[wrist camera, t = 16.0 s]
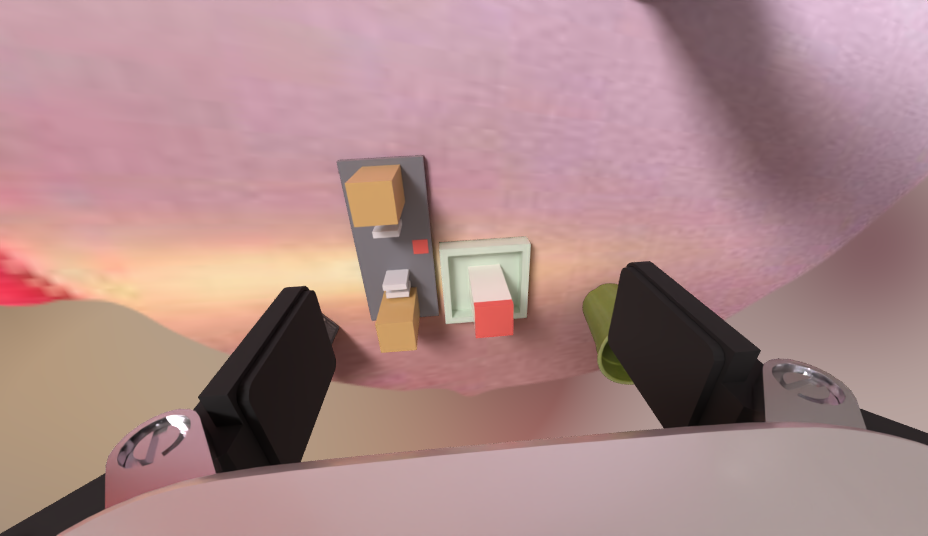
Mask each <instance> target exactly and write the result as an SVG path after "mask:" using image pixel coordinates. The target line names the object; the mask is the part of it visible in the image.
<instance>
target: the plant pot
mask: <svg viewBox="0 0 928 536" xmlns="http://www.w3.org/2000/svg"><path fill="white" fill-rule="evenodd" d="M617 289H618V285H617V284H603V285H600V286H599V287H598V288H596V289H595V290H593V291H591V292H590V293H589V294H588V295H587V296H586V298H585V299H584V302H583V313H584V316H585V318H586V321H587V323H588V326H589V328H590V331H591V334H592V336H593V339H594V341H595V344H596V350H597V353H598V356H597V361H598V366H599V369H600V371H601V372H602V373H603V375H604V376H605V377H607V378H608V379H610V380H611V381H613V382H616V383H620V384H628V385H629V384H630V385H633V384H634V383H633V381H632V380H631V378H630V377H629V375H628V374H627V372H626V371H625V369H624V368H623V366H622V365H621V363H620V362H619V360H618V359H617V357H616V356H615V354H614V353H613V351H612V350H611V348H610V346H609V343H608V333H609V328H610V323H611V318H612V313H613V308H614V304H615V299H616V294H617Z"/></svg>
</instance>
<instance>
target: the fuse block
mask: <svg viewBox="0 0 928 536" xmlns="http://www.w3.org/2000/svg"><path fill="white" fill-rule="evenodd" d="M337 165H338V170H339V174H340V179H341V183H342V188H343V192H344V197H345V202H346V206H347V211H348V215H349V220H350V224H351V229H352V233H353V238H354V242H355V247H356V251H357V256H358V260H359V265H360V270H361V274H362V279H363V283H364V288H365V292H366V297H367V301H368V306H369V310H370V315H371V319H372V321H375V320H376V323H375V326H376V331H377V336H378V340H379V345H380V349H381V353H384V352H397V351H409V350H417V341H418V329H419V318H420V317H427V316H439V308H438V298H437V288H436V278H435V268H434V258H433V248H432V238H431V228H430V218H429V208H428V198H427V188H426V178H425V168H424V158H423V155H415V156H398V157H381V158H364V159H347V160H338V161H337Z"/></svg>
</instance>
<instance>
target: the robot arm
mask: <svg viewBox="0 0 928 536" xmlns="http://www.w3.org/2000/svg"><path fill="white" fill-rule="evenodd" d="M608 343H609V346H610V348H611V350H612V351H613V353H614V354H615V356H616V357H617V359H618V360H619V362H620V363H621V365H622V366H623V368H624V369H625V371H626V372H627V374H628V375H629V377H630V378H631V380H632V381H633V383H634V384H635V386H636V387H637V389H638V390H639V392H640V393H641V395H642V396H643V398H644V399H645V401H646V402H647V404H648V405H649V407H650V408H651V410H652V411H653V413H654V414H655V416H656V417H657V419H658V420H659V421H660V423H661V425H662V426H663V428H664V429H653V430H642V431H630V432H618V433H606V434H594V435H583V436H571V437H560V438H549V439H538V440H526V441H515V442H505V443H493V444H482V445H471V446H461V447H450V448H439V449H429V450H418V451H408V452H398V453H388V454H378V455H367V456H356V457H346V458H335V459H326V460H317V461H308V462H301V460H302V457H303V454H304V451H305V449H306V446H307V444H308V441H309V438H310V436H311V433H312V430H313V427H314V425H315V422H316V420H317V417H318V414H319V411H320V409H321V406H322V403H323V401H324V398H325V395H326V393H327V390H328V387H329V385H330V382H331V379H332V377H333V374H334V371H335V368H336V359H335V355H334V352H333V348H332V345H331V342H330V339H329V335H328V332H327V329H326V325H325V322H324V319H323V316H322V312H321V309H320V306H319V303H318V299H317V296H316V293H315V292H314V291H313V290H309V289H308V287H306V286H299V287H286V288H284V289H283V290H282V291H281V292H280V294H279V295H278V296H277V298H276V299H275V300H274V301H273V303H272V304H271V305H270V306H269V308H268V309H267V310H266V311H265V313H264V314H263V315H262V317H261V318H260V319H259V320H258V322H257V323H256V324H255V325H254V327H253V328H252V329H251V331H250V332H249V333H248V334H247V336H246V337H245V338H244V339H243V341H242V342H241V343H240V344H239V346H238V347H237V348H236V350H235V351H234V352H233V353H232V355H231V356H230V357H229V358H228V360H227V361H226V362H225V364H224V365H223V366H222V367H221V369H220V370H219V371H218V372H217V374H216V375H215V376H214V377H213V379H212V380H211V381H210V383H209V384H208V385H207V386H206V388H205V389H204V390H203V391H202V393H201V394H200V395H199V396H198V398H199V400H200V402H199V403H198V405H197V406H196V407H195V408H194V410H190V409H177V410H172V411H169V412H165V413H163V414H160V415H158V416H155V417H153V418H151V419H149V420H147V421H146V422H144V423H142V424H140V425H139V426H137V427H136V428H135V429H133V430H132V431H131V432H129V433H128V434H127V435H126V436H125V437H124V438H123V439H122V440H121V441H120V442H119V443H118V444H117V445H116V446H115V447H114V449H113V450H112V452H111V453H110V455H109V456H108V459H107V463H106V473H105V474H103V475H101V476H100V477H98V478H96V479H94V480H93V481H91V482H89V483H88V484H86V485H84V486H82V487H81V488H79V489H77V490H75V491H74V492H72V493H70V494H68V495H67V496H65V497H63V498H61V499H60V500H58V501H56V502H55V503H53V504H51V505H49V506H48V507H46V508H44V509H42V510H41V511H39V512H37V513H35V514H34V515H32V516H30V517H28V518H27V519H25V520H23V521H22V522H20V523H18V524H16V525H15V526H13V527H11V528H10V529H8V530H6V531H4V532H2V533H1V534H0V536H928V433H925V432H923V431H920V430H917V429H915V428H912V427H909V426H906V425H904V424H901V423H898V422H895V421H893V420H890V419H887V418H884V417H882V416H879V415H876V414H873V413H871V412H868V411H865V410H863V409H860V408H859V405H858V403H857V400H856V398H855V396H854V394H853V393H852V391H851V390H850V389H849V388H848V387H847V386H846V385H845V384H844V383H843V382H841V381H840V380H838V379H836V378H835V377H834V376H832V375H831V374H829V373H827V372H825V371H823V370H821V369H819V368H817V367H814V366H812V365H809V364H806V363H803V362H799V361H795V360H791V359H779V358H778V359H772V360H769V361H767V362H766V363H764V364H762V363H761V362H760V361H759V360H758V359H757V357H758V355H759V353H760V351H761V350H760V349H759V348H757V347H756V346H755V345H754V344H752V343H751V342H750V341H749V340H748V339H746V338H745V337H744V336H743V335H741V334H740V333H739V332H738V331H736V330H735V329H734V328H733V327H731V326H730V325H729V324H728V323H726V322H725V321H724V320H723V319H722V318H720V317H719V316H718V315H717V314H715V313H714V312H713V311H712V310H710V309H709V308H708V307H707V306H705V305H704V304H703V303H702V302H700V301H699V300H698V299H697V298H695V297H694V296H693V295H692V294H690V293H689V292H688V291H687V290H686V289H684V288H683V287H682V286H681V285H679V284H678V283H677V282H676V281H674V280H673V279H672V278H671V277H669V276H668V275H667V274H666V273H664V272H663V271H662V270H661V269H659V268H658V267H657V266H656V265H654V264H653V263H652V262H650V261H646V262H632V263H629V264H628V265H627V266H626V268H623V269H622V271H621V274H620V279H619V284H618V289H617V294H616V299H615V304H614V308H613V313H612V318H611V323H610V328H609V333H608Z"/></svg>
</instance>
